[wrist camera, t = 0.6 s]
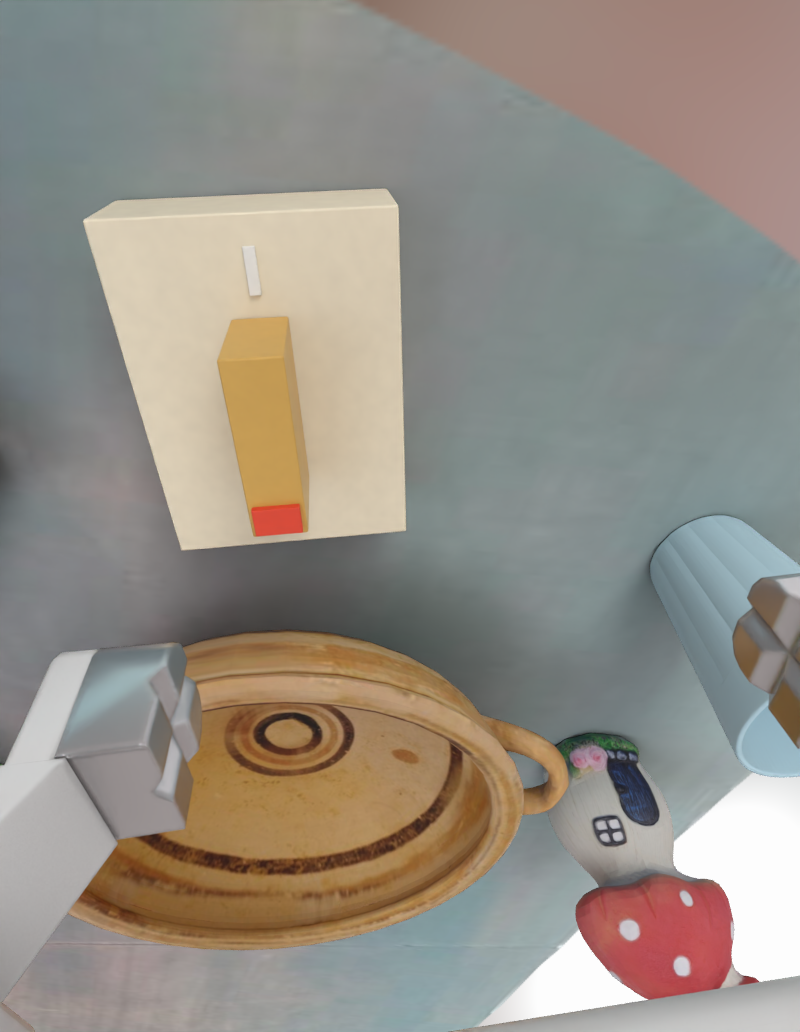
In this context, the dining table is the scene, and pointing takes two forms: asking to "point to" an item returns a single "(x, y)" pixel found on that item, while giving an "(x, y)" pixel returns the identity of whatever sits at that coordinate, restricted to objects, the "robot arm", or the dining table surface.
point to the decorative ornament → (639, 877)
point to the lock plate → (314, 333)
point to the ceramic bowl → (321, 799)
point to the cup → (724, 628)
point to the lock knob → (266, 423)
